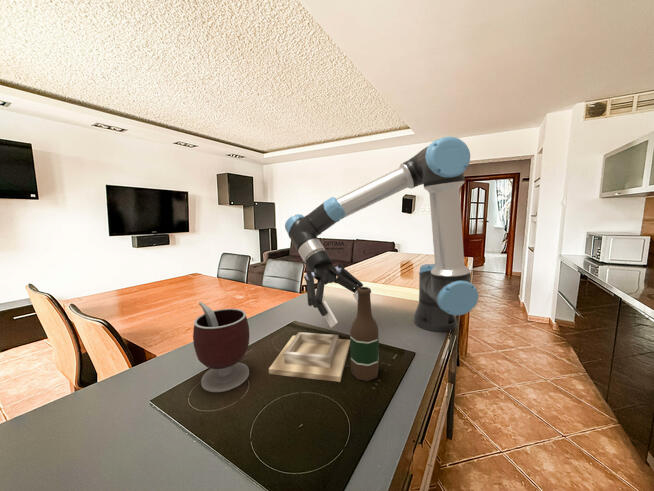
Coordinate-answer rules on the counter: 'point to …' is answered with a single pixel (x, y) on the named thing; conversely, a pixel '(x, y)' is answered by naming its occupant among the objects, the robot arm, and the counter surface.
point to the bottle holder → (312, 357)
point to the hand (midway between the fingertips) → (352, 317)
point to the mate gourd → (222, 347)
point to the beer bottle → (364, 339)
